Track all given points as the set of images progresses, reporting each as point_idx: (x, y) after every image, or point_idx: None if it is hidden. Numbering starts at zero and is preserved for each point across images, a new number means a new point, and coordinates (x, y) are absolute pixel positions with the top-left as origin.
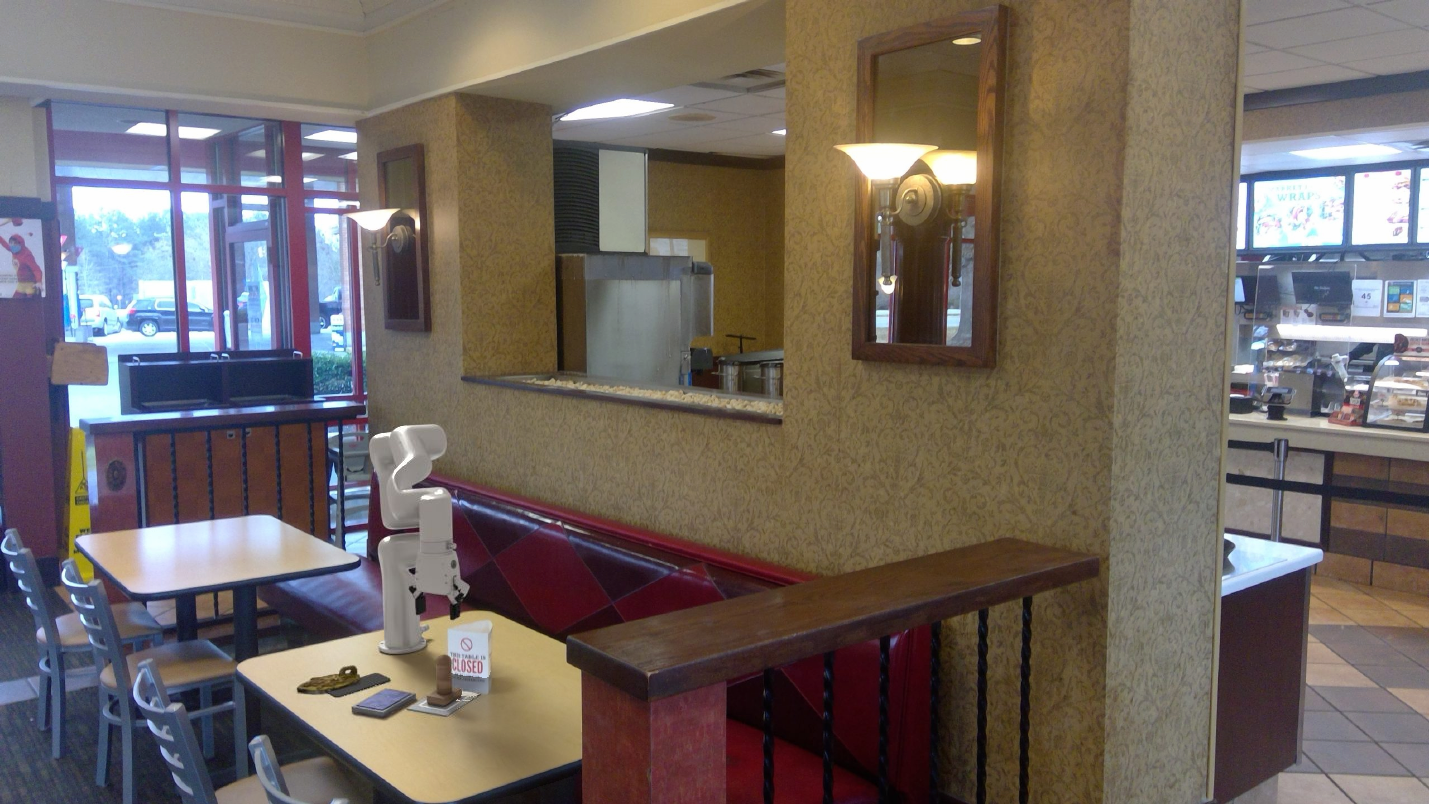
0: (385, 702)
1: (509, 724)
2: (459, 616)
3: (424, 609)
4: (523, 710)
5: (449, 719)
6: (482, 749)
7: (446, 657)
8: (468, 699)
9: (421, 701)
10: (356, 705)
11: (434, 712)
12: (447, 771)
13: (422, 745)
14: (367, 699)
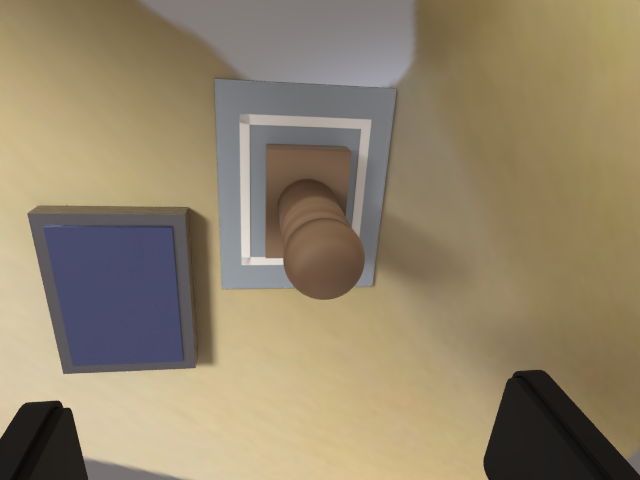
0: (147, 319)
1: (566, 263)
2: (537, 373)
3: (59, 453)
4: (583, 165)
5: (389, 295)
6: None
7: (352, 280)
8: (378, 158)
9: (229, 229)
10: (71, 362)
11: None
12: None
13: (399, 423)
14: (66, 323)
